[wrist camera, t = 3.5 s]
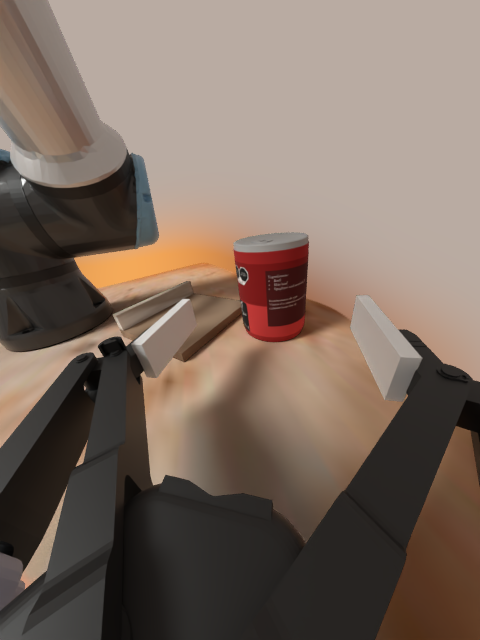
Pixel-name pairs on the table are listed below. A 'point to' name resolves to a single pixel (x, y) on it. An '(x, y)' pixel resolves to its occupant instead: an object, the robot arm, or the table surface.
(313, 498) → the table surface
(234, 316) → the shelf board
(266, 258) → the canned food
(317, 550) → the robot arm
